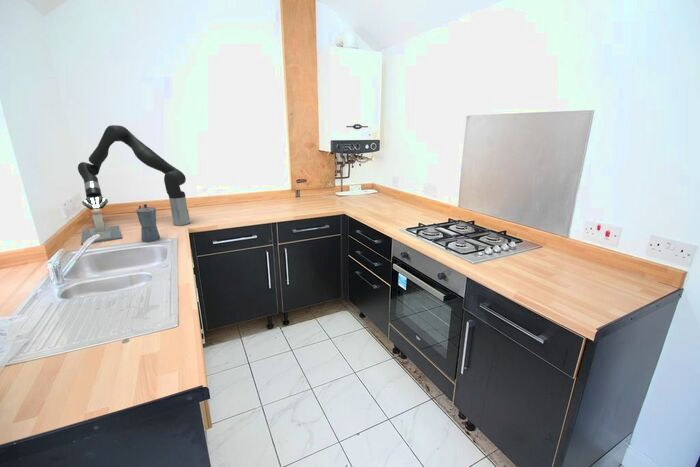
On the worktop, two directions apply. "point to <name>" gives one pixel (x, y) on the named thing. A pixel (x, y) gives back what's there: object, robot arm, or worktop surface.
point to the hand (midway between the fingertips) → (97, 214)
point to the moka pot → (148, 223)
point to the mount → (102, 233)
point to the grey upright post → (98, 220)
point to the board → (115, 236)
